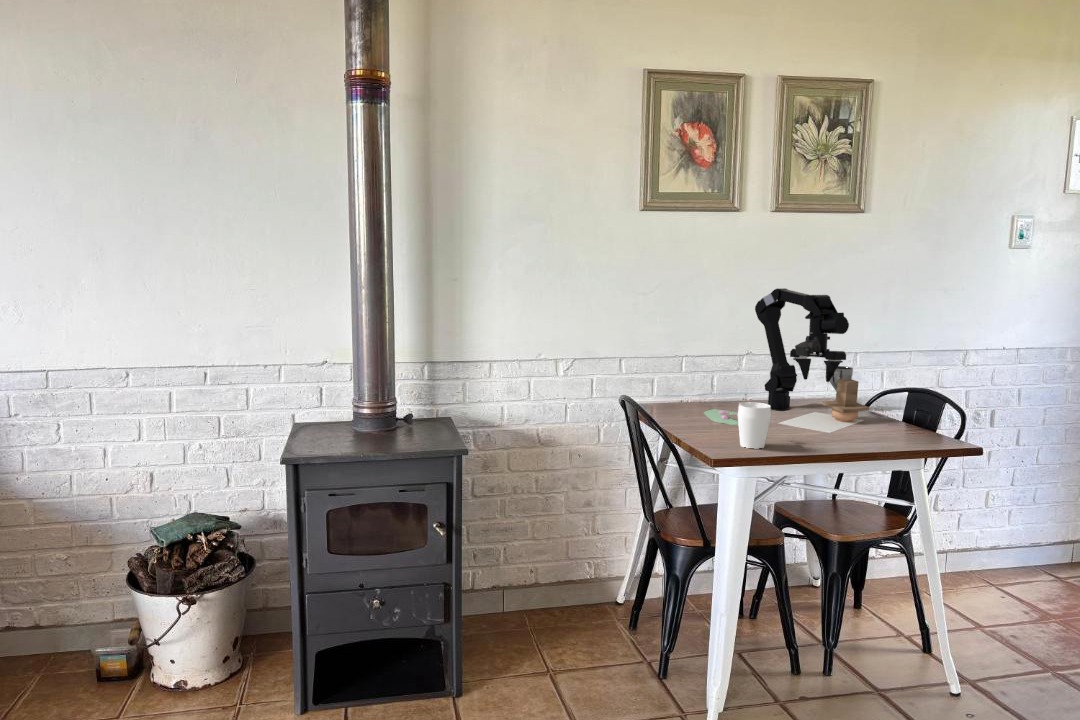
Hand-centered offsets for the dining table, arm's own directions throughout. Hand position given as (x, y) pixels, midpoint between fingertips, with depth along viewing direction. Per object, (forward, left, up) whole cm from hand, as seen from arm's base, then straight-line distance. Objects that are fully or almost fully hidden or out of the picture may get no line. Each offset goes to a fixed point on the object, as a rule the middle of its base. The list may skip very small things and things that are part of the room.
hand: (816, 380), depth 262 cm
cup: (+4, -48, -13) cm, 50 cm away
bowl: (+9, +3, -12) cm, 15 cm away
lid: (+9, +2, -8) cm, 12 cm away
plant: (-20, -17, -14) cm, 30 cm away
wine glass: (-2, +23, -13) cm, 26 cm away
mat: (+5, -5, -13) cm, 15 cm away
